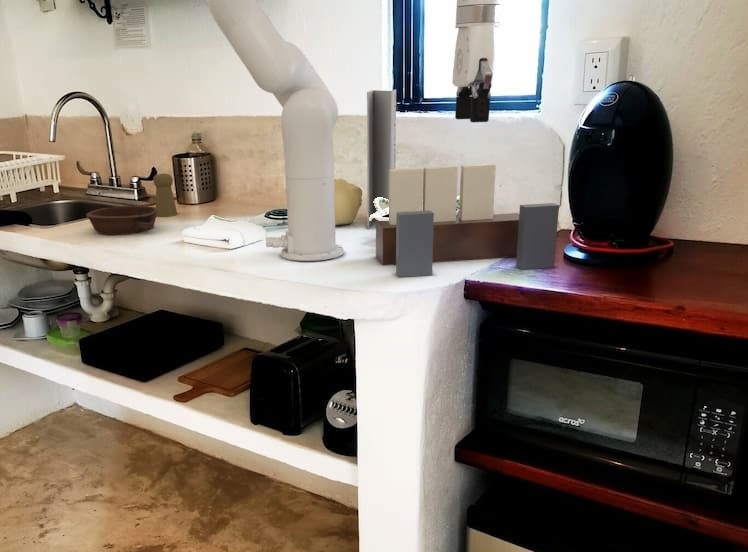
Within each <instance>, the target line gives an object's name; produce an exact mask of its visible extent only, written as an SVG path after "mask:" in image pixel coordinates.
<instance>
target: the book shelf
mask: <svg viewBox="0 0 748 552" xmlns="http://www.w3.org/2000/svg"><path fill="white" fill-rule="evenodd" d="M518 227H519V212H514V213H513V212H512V213H497V214H494V213H493V219H482V220H465V221H462V220H460V219H459V216H456V221H449V222H434V224H433V263H436V262H437V263H438V262H453V261H468V260H469V261H470V260H485V259H500V258H501V259H503V258H517V243H518ZM375 258H376V259H377V260H378V261H379V263H380V264H381V265H382V266H388V265H389V266H390V265H396V225H390V224H389V221H379V222H378V221H375Z"/></svg>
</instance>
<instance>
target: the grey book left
mask: <svg viewBox="0 0 748 552" xmlns="http://www.w3.org/2000/svg"><path fill="white" fill-rule="evenodd" d="M433 224H434V213H433V212H432V211H430V210H429V211H413V212H397V213H396V264H395V275H396V276H397V277H398V278H407V277H423V276H433V263H434V262H433Z"/></svg>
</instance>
